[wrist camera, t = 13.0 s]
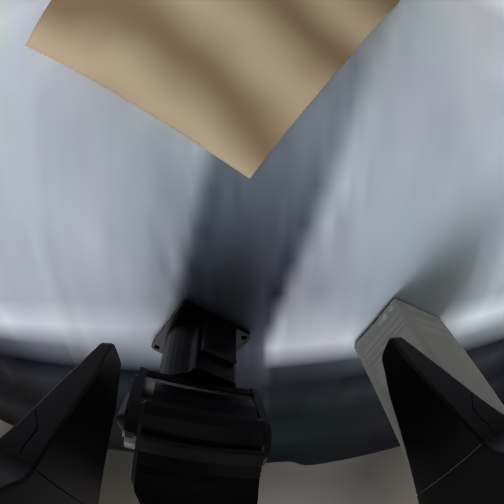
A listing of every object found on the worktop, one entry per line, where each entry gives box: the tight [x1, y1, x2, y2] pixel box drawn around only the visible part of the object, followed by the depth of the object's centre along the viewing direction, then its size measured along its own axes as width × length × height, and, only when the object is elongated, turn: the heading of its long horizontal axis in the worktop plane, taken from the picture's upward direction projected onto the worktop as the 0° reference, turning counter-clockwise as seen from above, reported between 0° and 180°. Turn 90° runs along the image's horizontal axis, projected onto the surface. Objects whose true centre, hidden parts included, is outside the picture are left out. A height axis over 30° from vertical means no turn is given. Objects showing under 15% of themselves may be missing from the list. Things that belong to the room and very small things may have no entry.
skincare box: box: [355, 299, 504, 466], centre depth 21 cm, size 8×7×16 cm
